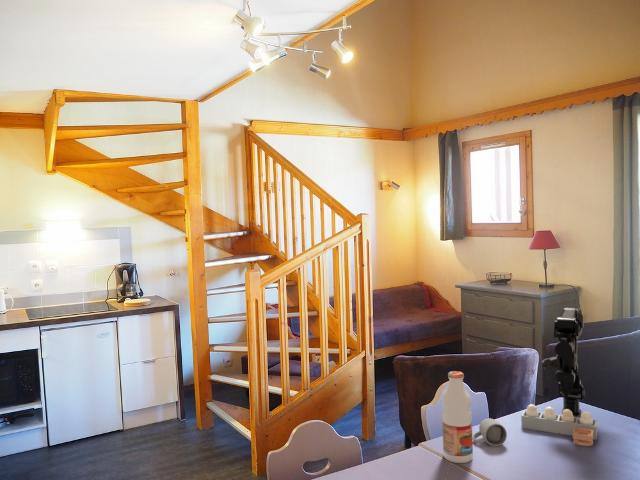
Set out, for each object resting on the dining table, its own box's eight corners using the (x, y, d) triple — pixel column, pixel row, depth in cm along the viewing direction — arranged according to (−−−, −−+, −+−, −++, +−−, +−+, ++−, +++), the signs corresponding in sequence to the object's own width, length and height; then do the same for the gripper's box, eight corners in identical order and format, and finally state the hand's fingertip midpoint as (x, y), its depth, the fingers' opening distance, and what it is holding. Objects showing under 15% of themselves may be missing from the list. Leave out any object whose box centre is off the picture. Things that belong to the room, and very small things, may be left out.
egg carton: (524, 421, 200) (524, 400, 199) (597, 432, 187) (597, 410, 187) (521, 427, 194) (521, 406, 194) (596, 439, 181) (596, 416, 181)
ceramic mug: (498, 436, 187) (497, 414, 187) (507, 445, 179) (506, 423, 179) (469, 438, 187) (468, 417, 186) (477, 448, 178) (476, 425, 178)
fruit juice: (447, 449, 178) (445, 367, 177) (475, 454, 173) (473, 370, 172) (439, 460, 170) (437, 375, 169) (468, 466, 165) (466, 378, 164)
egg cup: (574, 437, 183) (574, 427, 183) (593, 440, 180) (593, 430, 180) (572, 444, 178) (572, 433, 178) (592, 447, 175) (592, 436, 175)
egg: (556, 421, 193) (556, 406, 192) (555, 425, 189) (555, 409, 189) (544, 419, 195) (544, 404, 195) (542, 423, 191) (542, 407, 191)
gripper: (546, 344, 206) (547, 383, 207) (539, 355, 190) (540, 397, 190) (577, 346, 200) (578, 387, 201) (573, 358, 184) (574, 402, 185)
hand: (567, 393), depth 194 cm, fingers open, 9 cm apart
